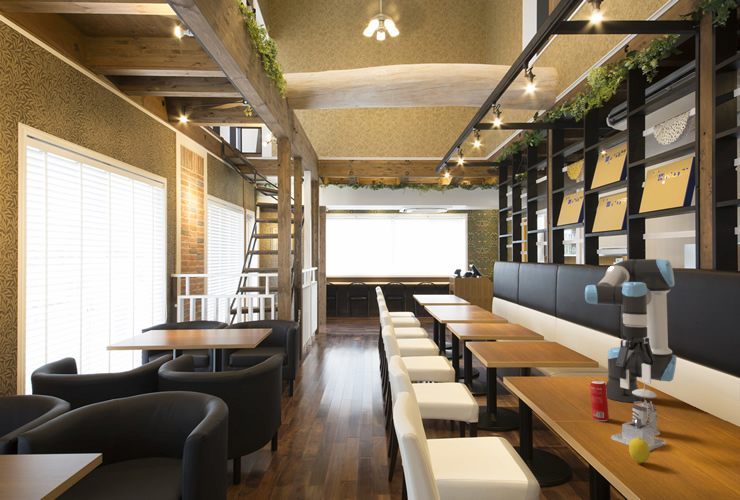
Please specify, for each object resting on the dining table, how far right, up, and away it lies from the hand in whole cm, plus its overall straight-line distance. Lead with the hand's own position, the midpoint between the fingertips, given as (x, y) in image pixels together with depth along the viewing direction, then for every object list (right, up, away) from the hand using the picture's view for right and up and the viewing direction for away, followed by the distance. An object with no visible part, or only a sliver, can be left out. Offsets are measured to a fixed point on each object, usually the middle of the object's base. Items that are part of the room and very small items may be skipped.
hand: (635, 385), depth 157 cm
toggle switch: (-1, -19, -3) cm, 19 cm away
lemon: (-11, -19, -20) cm, 29 cm away
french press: (+7, -19, +7) cm, 22 cm away
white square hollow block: (-1, -18, -3) cm, 18 cm away
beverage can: (-3, -20, +19) cm, 28 cm away
